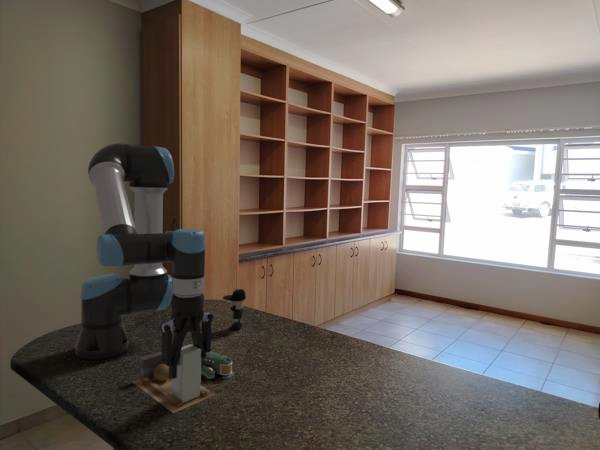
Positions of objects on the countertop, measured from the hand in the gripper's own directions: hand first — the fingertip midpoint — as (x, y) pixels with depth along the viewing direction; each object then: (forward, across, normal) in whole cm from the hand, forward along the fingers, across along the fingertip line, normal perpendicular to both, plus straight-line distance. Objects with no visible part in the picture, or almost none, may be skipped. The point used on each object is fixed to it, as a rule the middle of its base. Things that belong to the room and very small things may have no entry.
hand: (186, 385), depth 100 cm
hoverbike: (+5, +11, +13) cm, 18 cm away
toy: (+4, +41, +32) cm, 52 cm away
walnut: (+3, 0, +12) cm, 12 cm away
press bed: (+4, 0, +6) cm, 7 cm away
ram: (+3, 0, 0) cm, 3 cm away
